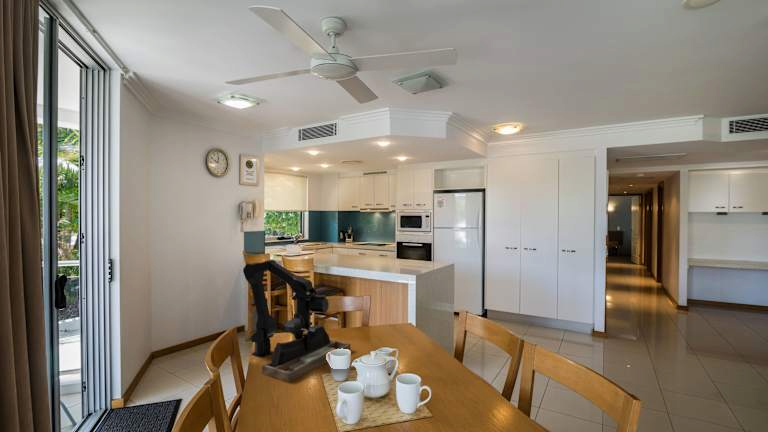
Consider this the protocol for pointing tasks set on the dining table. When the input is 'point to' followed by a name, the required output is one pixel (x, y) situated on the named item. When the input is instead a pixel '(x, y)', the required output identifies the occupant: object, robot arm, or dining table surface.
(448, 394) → the dining table surface
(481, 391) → the dining table surface
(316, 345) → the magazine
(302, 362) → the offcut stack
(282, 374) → the tray
